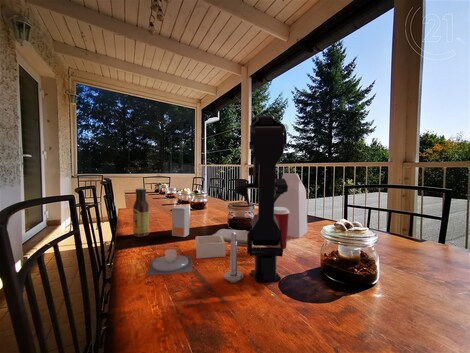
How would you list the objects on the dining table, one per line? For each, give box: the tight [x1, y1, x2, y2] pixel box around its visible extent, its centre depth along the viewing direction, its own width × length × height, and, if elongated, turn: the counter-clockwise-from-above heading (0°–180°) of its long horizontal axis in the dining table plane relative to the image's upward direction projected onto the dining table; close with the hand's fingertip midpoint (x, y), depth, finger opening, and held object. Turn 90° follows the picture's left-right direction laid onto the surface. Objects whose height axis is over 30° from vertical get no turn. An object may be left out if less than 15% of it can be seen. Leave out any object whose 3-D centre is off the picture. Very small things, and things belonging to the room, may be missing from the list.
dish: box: [195, 235, 226, 259], centre depth 81 cm, size 9×9×5 cm
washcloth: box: [211, 228, 253, 247], centre depth 98 cm, size 12×18×3 cm, turn 72°
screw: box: [223, 232, 244, 284], centre depth 61 cm, size 13×5×5 cm
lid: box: [153, 248, 188, 272], centre depth 71 cm, size 10×10×4 cm
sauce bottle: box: [132, 187, 150, 238], centre depth 103 cm, size 6×6×20 cm
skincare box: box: [171, 206, 190, 238], centre depth 104 cm, size 6×4×12 cm
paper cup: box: [270, 207, 290, 250], centre depth 89 cm, size 8×8×14 cm
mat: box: [145, 255, 193, 277], centre depth 71 cm, size 12×12×1 cm
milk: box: [274, 172, 308, 239], centre depth 108 cm, size 12×12×26 cm
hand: (260, 204), depth 95 cm, fingers open, 9 cm apart
